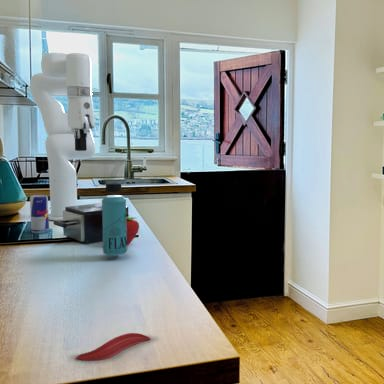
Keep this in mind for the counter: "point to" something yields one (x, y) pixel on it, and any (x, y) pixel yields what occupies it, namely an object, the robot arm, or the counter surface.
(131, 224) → the strawberry
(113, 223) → the beverage bottle
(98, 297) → the counter surface
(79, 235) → the drawer
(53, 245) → the counter surface
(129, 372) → the counter surface
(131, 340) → the cayenne pepper
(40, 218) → the energy drink
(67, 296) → the counter surface
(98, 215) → the cabinet
